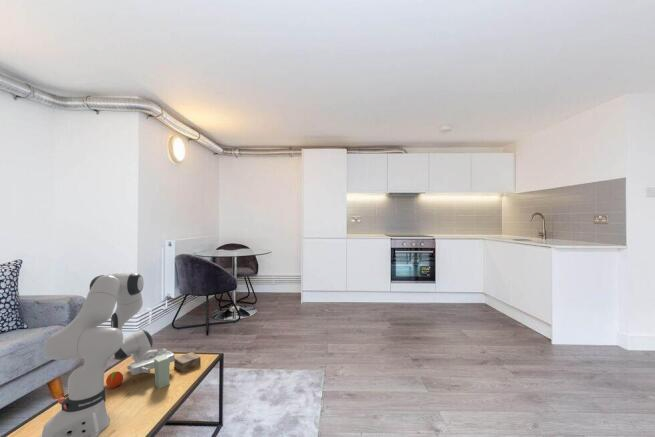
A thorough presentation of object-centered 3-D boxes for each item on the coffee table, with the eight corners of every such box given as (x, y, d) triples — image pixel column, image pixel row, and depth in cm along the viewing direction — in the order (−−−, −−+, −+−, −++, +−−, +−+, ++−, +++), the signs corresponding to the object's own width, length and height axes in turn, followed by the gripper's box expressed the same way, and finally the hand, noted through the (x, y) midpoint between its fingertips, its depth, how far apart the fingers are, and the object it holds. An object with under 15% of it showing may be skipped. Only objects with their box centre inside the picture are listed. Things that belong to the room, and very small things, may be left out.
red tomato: (120, 390, 150) (119, 375, 150) (103, 392, 148) (102, 377, 148) (125, 381, 157) (124, 367, 157) (109, 384, 155) (108, 369, 155)
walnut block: (182, 371, 166) (182, 363, 166) (174, 366, 173) (174, 358, 173) (200, 364, 174) (200, 356, 174) (192, 359, 180) (192, 351, 180)
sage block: (158, 388, 151) (158, 361, 150) (154, 385, 154) (154, 358, 154) (169, 384, 154) (169, 358, 154) (165, 380, 158) (165, 355, 157)
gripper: (125, 360, 158) (135, 369, 149) (168, 347, 173) (179, 354, 164) (125, 373, 158) (135, 382, 149) (168, 358, 173) (179, 366, 164)
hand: (158, 367), depth 156 cm, fingers open, 8 cm apart
